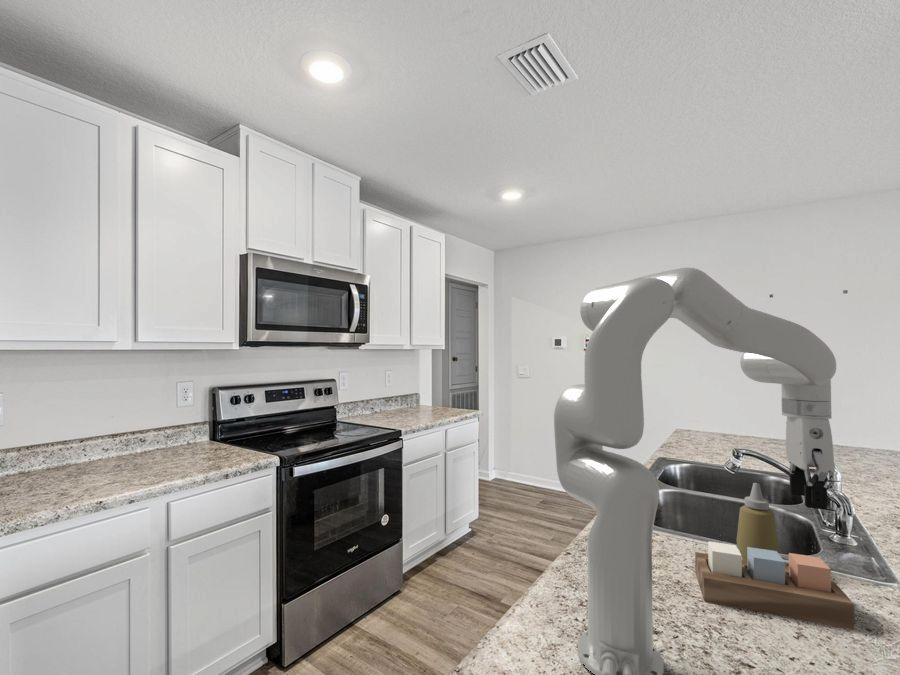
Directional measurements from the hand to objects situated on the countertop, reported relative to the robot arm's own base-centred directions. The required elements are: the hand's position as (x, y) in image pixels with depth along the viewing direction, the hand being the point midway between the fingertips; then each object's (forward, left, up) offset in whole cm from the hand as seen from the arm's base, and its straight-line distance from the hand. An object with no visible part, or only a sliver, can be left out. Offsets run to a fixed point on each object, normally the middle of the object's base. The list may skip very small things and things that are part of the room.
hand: (807, 500), depth 85 cm
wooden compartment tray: (0, +7, -20) cm, 21 cm away
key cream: (0, +14, -17) cm, 22 cm away
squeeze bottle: (+17, +5, -20) cm, 27 cm away
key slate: (0, +7, -17) cm, 18 cm away
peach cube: (0, 0, -17) cm, 17 cm away
